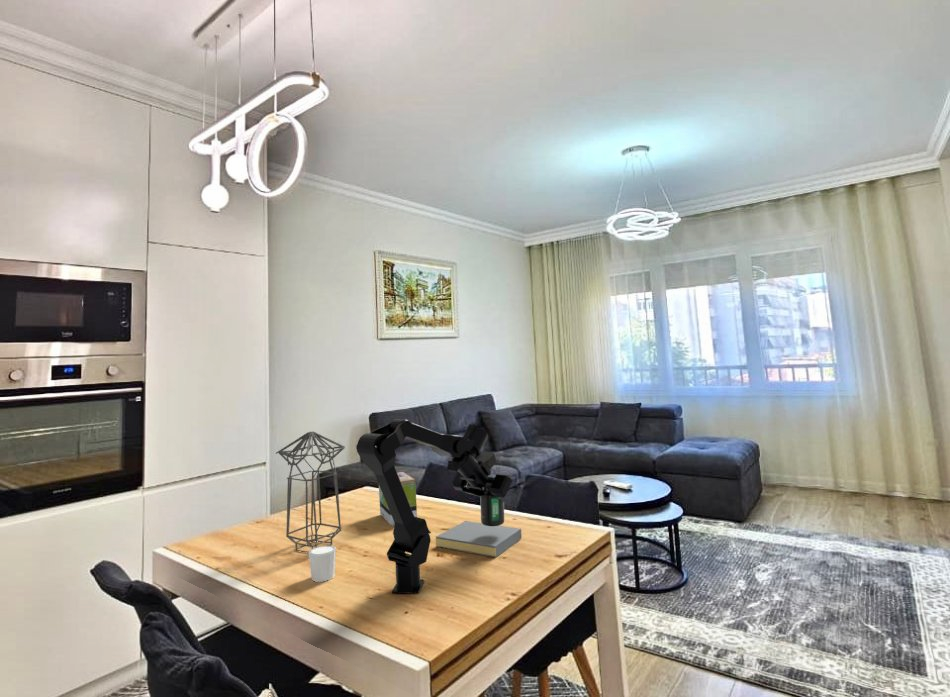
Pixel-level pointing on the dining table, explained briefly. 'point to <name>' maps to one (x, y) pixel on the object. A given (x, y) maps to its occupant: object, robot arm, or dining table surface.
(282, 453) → the geometric lantern
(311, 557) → the white cylinder
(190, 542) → the dining table surface
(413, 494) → the tea box
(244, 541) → the dining table surface
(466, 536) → the gray hardcover book
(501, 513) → the supplement bottle
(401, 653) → the dining table surface
